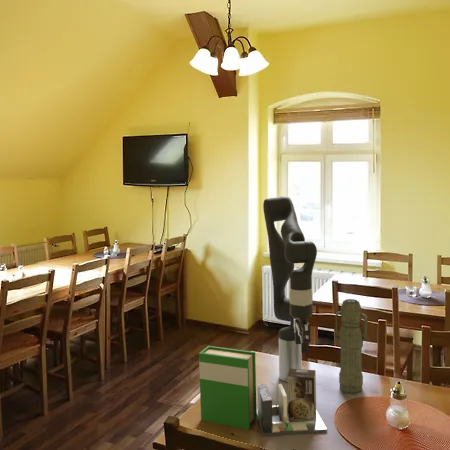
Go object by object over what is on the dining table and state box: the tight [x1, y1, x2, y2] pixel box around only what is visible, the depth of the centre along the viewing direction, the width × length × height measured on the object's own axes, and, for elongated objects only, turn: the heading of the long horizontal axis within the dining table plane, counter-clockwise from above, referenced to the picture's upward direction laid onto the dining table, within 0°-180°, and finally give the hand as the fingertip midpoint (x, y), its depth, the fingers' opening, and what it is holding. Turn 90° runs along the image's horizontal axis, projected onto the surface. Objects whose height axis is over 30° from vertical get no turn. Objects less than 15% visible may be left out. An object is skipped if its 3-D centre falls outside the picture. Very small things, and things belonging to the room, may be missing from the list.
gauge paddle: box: [277, 383, 288, 427], centre depth 161 cm, size 12×1×10 cm, turn 4°
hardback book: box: [198, 345, 258, 430], centre depth 165 cm, size 18×7×24 cm, turn 66°
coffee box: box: [287, 368, 317, 422], centre depth 163 cm, size 9×6×16 cm
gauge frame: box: [256, 383, 328, 437], centre depth 163 cm, size 16×21×11 cm
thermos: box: [334, 298, 368, 395], centre depth 185 cm, size 9×12×35 cm
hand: (301, 348), depth 161 cm, fingers open, 8 cm apart
